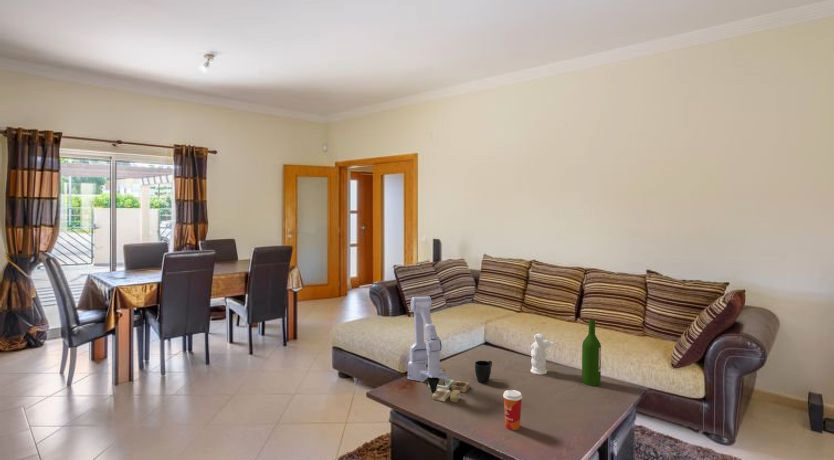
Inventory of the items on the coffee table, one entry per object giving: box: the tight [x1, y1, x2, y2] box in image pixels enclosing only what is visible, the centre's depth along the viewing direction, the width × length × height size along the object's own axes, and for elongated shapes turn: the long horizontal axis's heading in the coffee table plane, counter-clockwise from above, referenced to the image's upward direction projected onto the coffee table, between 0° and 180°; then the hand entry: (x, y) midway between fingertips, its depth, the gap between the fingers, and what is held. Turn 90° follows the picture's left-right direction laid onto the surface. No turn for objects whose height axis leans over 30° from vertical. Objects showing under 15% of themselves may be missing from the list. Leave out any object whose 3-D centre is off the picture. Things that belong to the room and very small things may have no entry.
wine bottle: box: [581, 318, 602, 387], centre depth 218 cm, size 9×9×32 cm
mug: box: [474, 360, 493, 384], centre depth 222 cm, size 8×12×10 cm
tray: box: [427, 378, 455, 390], centre depth 216 cm, size 10×10×2 cm
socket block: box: [451, 380, 471, 393], centre depth 213 cm, size 7×7×2 cm
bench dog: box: [449, 390, 461, 403], centre depth 200 cm, size 3×5×4 cm, turn 155°
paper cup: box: [502, 389, 523, 431], centre depth 174 cm, size 8×8×14 cm
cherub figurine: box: [529, 333, 555, 376], centre depth 232 cm, size 12×12×22 cm
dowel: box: [438, 366, 446, 386], centre depth 216 cm, size 4×4×8 cm
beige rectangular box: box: [431, 388, 451, 402], centre depth 203 cm, size 6×8×2 cm
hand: (433, 392), depth 205 cm, fingers closed
